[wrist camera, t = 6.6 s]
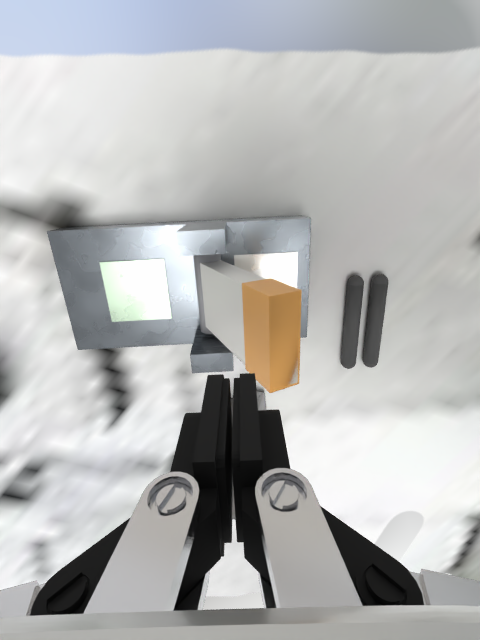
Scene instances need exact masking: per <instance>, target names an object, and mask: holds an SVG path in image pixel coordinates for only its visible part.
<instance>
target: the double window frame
mask: <svg viewBox="0 0 480 640" xmlns="http://www.w3.org/2000/svg"><path fill="white" fill-rule="evenodd" d="M310 230H311V218H309V217H306V216H285V217H265V218H245V219H225V220H205V221H185V222H165V223H145V224H125V225H105V226H85V227H66V228H61V229H56V230H51V231H47V234H48V237H49V241H50V245H51V249H52V253H53V257H54V260H55V264H56V268H57V272H58V276H59V279H60V283H61V287H62V291H63V295H64V299H65V302H66V306H67V310H68V314H69V318H70V321H71V325H72V329H73V333H74V337H75V341H76V344H77V348H78V350H83V349H101V348H120V347H138V346H156V345H175V344H193V345H192V350H191V354H190V358H191V366H192V373H204V372H222V371H233V353H232V352H231V351H230V350H229V349H228V348H227V347H226V346H225V345H224V344H223V343H222V342H221V341H220V340H219V339H218V338H217V337H216V336H215V335H214V334H205V333H202V332H201V327H200V317H199V307H198V297H197V287H196V277H195V267H194V257H193V255H212V254H221V260H222V261H224V262H227V263H229V264H231V265H234V266H236V267H239V268H241V269H244V270H246V271H249V272H251V273H253V274H256V275H258V276H261V277H263V278H266V279H269V278H272V279H275V280H277V281H280V282H282V283H285V284H287V285H290V286H292V287H295V288H297V289H300V290H302V292H301V329H300V338H303V337H307V315H308V287H309V259H310Z"/></svg>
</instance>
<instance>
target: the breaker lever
mask: <svg viewBox="0 0 480 640" xmlns="http://www.w3.org/2000/svg"><path fill="white" fill-rule="evenodd" d="M193 257H194V267H195V277H196V287H197V297H198V307H199V317H200V327H201V332H202V333H205V334H214V335H215V336H216V337H217V338H218V339H219V340H220V341H221V342H222V343H223V344H224V345H225V346H226V347H227V348H228V349H229V350H230V351H231V352H232V353H233V354H234V355H235V356H236V357H237V358H238V359H239V360H240V361H241V362H242V363H243V364H244V365H245V367H246V370H247V371H248V372H249V373H255V379H256V380H257V381H258V382H259V383H260V384H261V385H262V386H263V387H264V388H265V389H266V390H267V391H268V392H269V393H272V392H275V391H278V390H281V389H284V388H287V387H290V386H293V385H296V384H299V366H300V329H301V292H302V290H300V289H297V288H295V287H292V286H290V285H287V284H285V283H282V282H280V281H277V280H275V279H272V278H269V279H266V278H263V277H261V276H258V275H256V274H253V273H251V272H249V271H246V270H244V269H241V268H239V267H236V266H234V265H231V264H229V263H227V262H224V261H222V260H221V254H212V255H193Z"/></svg>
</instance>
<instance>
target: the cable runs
mask: <svg viewBox="0 0 480 640" xmlns="http://www.w3.org/2000/svg"><path fill="white" fill-rule="evenodd" d="M363 287H364V281H363V279H362V278H361V277H360V276H352V277H350V278H349V280H348V282H347V293H346V305H345V317H344V330H343V342H342V354H341V364H342V366H343V367H345V368H347V369H350V368H353V367H354V366H355V364H356V356H357V346H358V336H359V326H360V316H361V306H362V296H363ZM387 288H388V278H387V277H386V276H385V275H382V274H378V275H376V276H374V277H373V278H372V281H371V290H370V299H369V308H368V317H367V326H366V335H365V344H364V353H363V363H364V364H365V366H367V367H374V366H376V365H377V363H378V357H379V350H380V342H381V334H382V327H383V319H384V311H385V304H386V296H387Z"/></svg>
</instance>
